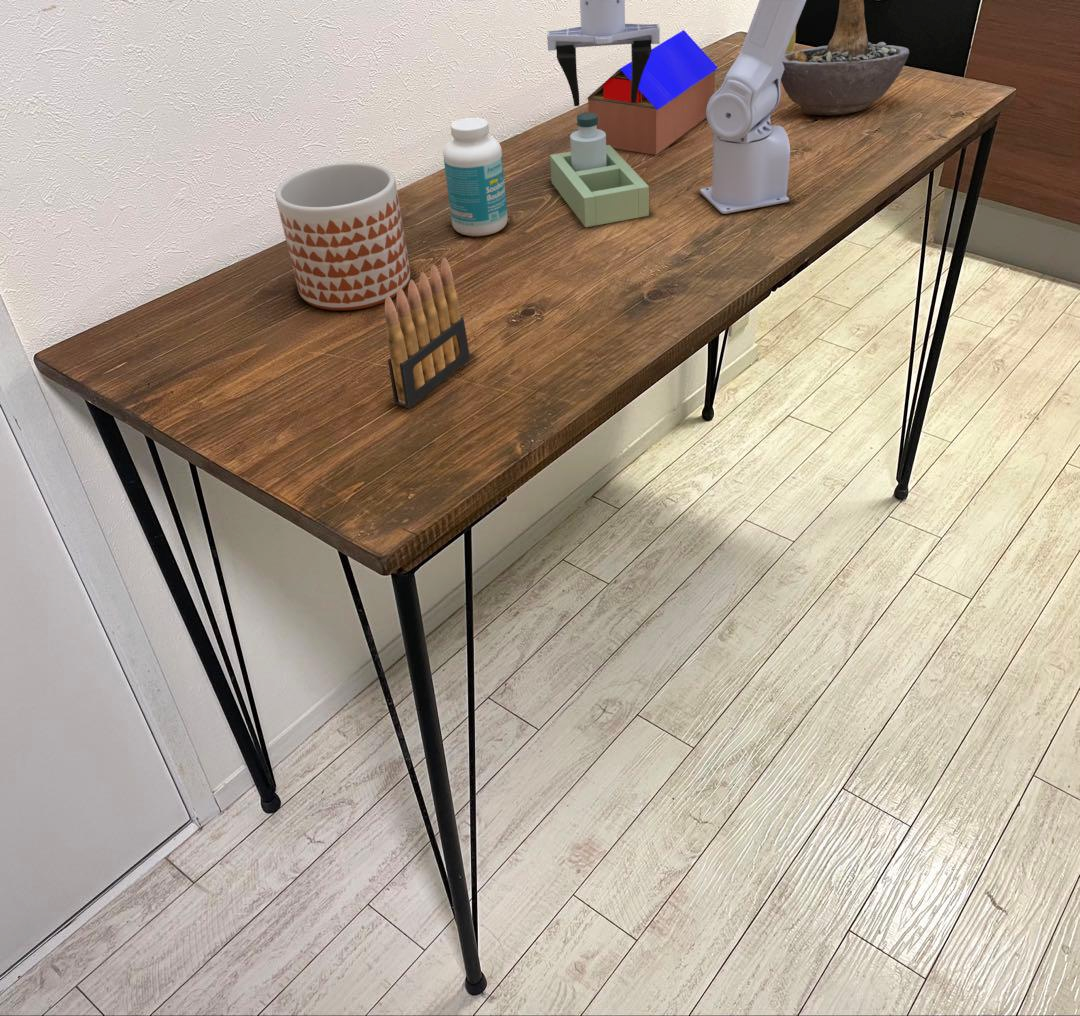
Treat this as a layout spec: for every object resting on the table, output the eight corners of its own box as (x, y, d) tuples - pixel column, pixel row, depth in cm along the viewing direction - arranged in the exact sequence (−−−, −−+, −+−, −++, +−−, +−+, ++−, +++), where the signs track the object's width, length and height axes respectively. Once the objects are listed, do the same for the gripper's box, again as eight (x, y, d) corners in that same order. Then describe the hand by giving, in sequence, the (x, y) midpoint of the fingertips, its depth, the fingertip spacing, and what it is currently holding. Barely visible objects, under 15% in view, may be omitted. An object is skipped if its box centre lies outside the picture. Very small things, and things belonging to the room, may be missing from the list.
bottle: (602, 180, 144) (600, 107, 137) (611, 192, 140) (609, 119, 134) (569, 184, 143) (565, 112, 137) (577, 197, 140) (573, 124, 133)
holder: (610, 172, 146) (609, 144, 143) (649, 215, 134) (649, 186, 131) (551, 182, 144) (549, 154, 142) (585, 227, 132) (583, 198, 130)
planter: (766, 119, 157) (776, -23, 145) (820, 87, 167) (834, -49, 154) (855, 137, 149) (874, -12, 137) (906, 102, 159) (928, -40, 146)
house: (716, 111, 162) (719, 33, 154) (657, 156, 149) (657, 73, 142) (649, 102, 167) (649, 26, 160) (586, 144, 155) (583, 64, 147)
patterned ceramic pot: (379, 318, 117) (359, 213, 109) (277, 305, 122) (251, 203, 113) (429, 265, 127) (414, 164, 119) (334, 254, 131) (313, 157, 123)
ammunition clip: (457, 354, 110) (442, 251, 102) (470, 358, 109) (457, 255, 102) (394, 404, 103) (373, 298, 96) (408, 409, 103) (388, 302, 95)
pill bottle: (501, 239, 131) (490, 134, 123) (446, 238, 133) (431, 134, 124) (514, 215, 137) (504, 113, 128) (461, 213, 138) (448, 113, 130)
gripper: (544, 4, 127) (550, 115, 135) (661, -4, 126) (660, 108, 134) (545, -10, 132) (552, 97, 141) (658, -18, 131) (657, 91, 140)
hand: (605, 102), depth 138 cm, fingers open, 7 cm apart
